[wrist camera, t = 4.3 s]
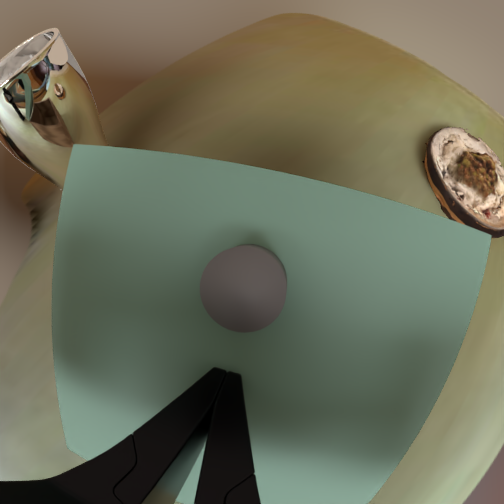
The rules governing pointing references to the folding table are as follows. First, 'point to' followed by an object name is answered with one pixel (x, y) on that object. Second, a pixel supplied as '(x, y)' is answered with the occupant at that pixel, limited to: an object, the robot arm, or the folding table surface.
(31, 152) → the beer glass
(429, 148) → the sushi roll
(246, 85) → the folding table surface
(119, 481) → the robot arm
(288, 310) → the lid
